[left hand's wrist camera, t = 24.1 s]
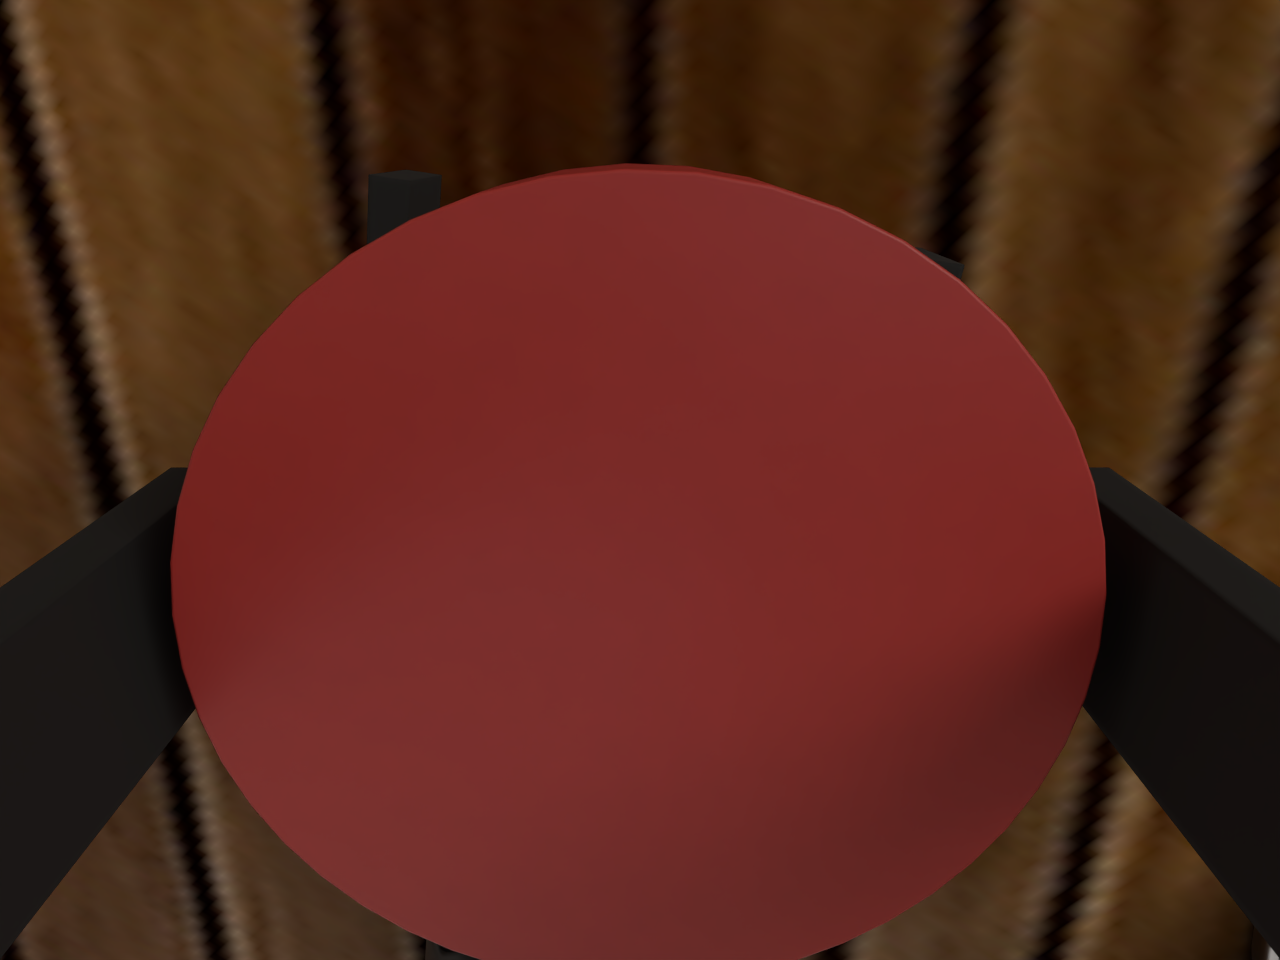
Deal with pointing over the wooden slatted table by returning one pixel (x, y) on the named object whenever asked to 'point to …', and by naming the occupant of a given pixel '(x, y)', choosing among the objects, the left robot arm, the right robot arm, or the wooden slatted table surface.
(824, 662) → the lid
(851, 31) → the wooden slatted table surface
